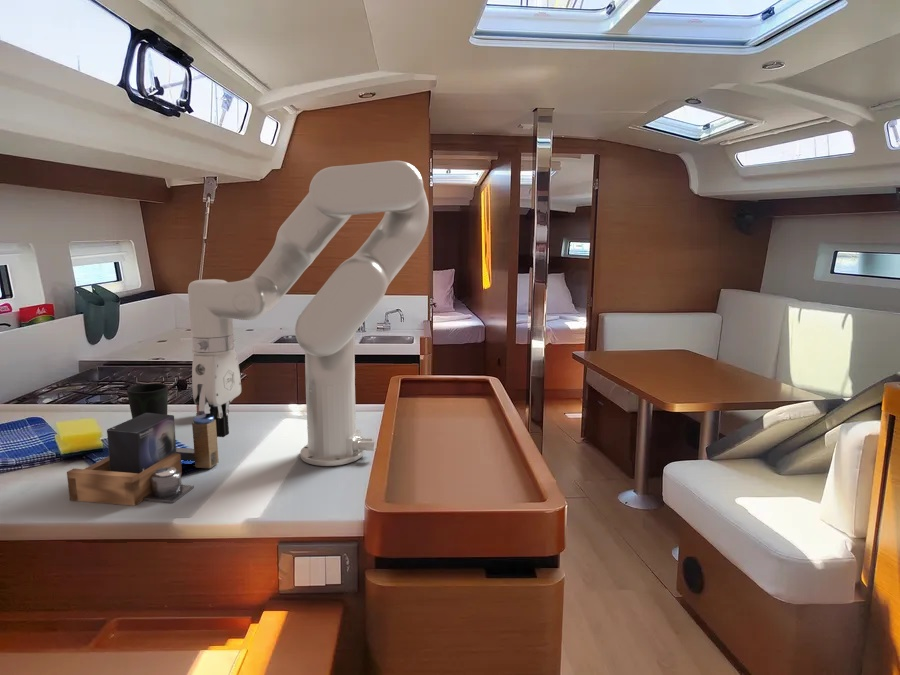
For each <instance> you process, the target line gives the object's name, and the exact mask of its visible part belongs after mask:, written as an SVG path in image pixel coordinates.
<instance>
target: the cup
mask: <svg viewBox="0 0 900 675" xmlns="http://www.w3.org/2000/svg"><path fill="white" fill-rule="evenodd" d="M126 393H127V400H128V404H129V409H130V413H131V419H133V418H135V417H137V416H139V415H142V414H144V413H155V414H164V415H168V403H169V402H168V396H169V395H168V394H169V386H168V385H167V384H165V383H161V382H160V383H159V382H157V383H155V382H154V383H153V382H152V383H144V384H143V383H142V384H138V385H133V386H131V387H129V388H127V390H126Z"/></svg>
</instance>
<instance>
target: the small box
mask: <svg viewBox="0 0 900 675" xmlns="http://www.w3.org/2000/svg"><path fill="white" fill-rule="evenodd" d="M175 428H176V426H175V415H173V414H172V415H171V414H167V415H164V414H155V413H144V414H142V415H139V416H137V417H135V418H133V419H132V418H130V419H128V420H126V421H124V422H123V421H122V422H121V423H118V424H117V425H114V426H112V427H110V428H107V429H106V434H107V435H106V436H107V446H108V448H107V449H108V456H109V460H110V471H113V472H126V473H138V474H139V473H141V472H142V471H144V470H146V469H147V468H149V467H151V466H152V465H154V464H156V463H157V462H159V461H161V460H162V459H164V458H166V457H167V456H169V455H171V454H173V453H176V448H177V445H176V444H177V442H176V440H177V439H176V429H175Z"/></svg>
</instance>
